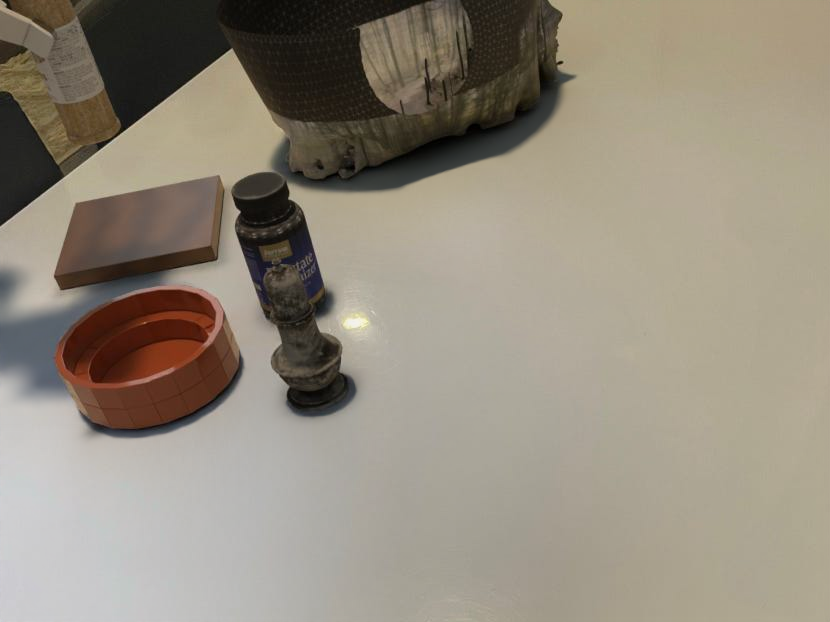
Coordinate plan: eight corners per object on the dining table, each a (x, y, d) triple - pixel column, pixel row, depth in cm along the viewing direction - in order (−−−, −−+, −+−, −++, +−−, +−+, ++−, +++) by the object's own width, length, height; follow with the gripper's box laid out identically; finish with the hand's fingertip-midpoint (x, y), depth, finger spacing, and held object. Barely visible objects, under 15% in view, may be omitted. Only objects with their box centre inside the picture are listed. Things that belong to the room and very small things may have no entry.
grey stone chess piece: (274, 385, 81) (226, 253, 72) (339, 360, 82) (299, 226, 73) (295, 422, 77) (248, 288, 68) (362, 396, 78) (324, 260, 69)
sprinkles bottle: (67, 131, 81) (-17, -57, 71) (120, 116, 82) (45, -73, 71) (71, 153, 78) (-16, -39, 68) (125, 138, 79) (48, -55, 68)
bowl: (67, 446, 80) (41, 402, 76) (91, 346, 89) (68, 302, 85) (237, 414, 79) (218, 369, 76) (243, 317, 88) (227, 272, 85)
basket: (588, 155, 98) (579, -28, 86) (254, 210, 101) (198, 40, 88) (558, 47, 116) (547, -118, 103) (275, 96, 118) (231, -60, 106)
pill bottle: (284, 330, 86) (244, 211, 77) (250, 305, 89) (208, 189, 81) (340, 299, 88) (307, 180, 79) (304, 276, 91) (269, 159, 83)
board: (60, 289, 96) (53, 276, 95) (81, 216, 105) (75, 202, 104) (216, 259, 95) (211, 245, 94) (224, 188, 105) (219, 174, 104)
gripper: (-103, -102, 75) (74, 18, 82) (-205, -7, 63) (15, 125, 70) (-82, -185, 71) (102, -52, 78) (-186, -102, 59) (45, 48, 66)
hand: (61, 32), depth 74 cm, fingers closed on sprinkles bottle, 4 cm apart
